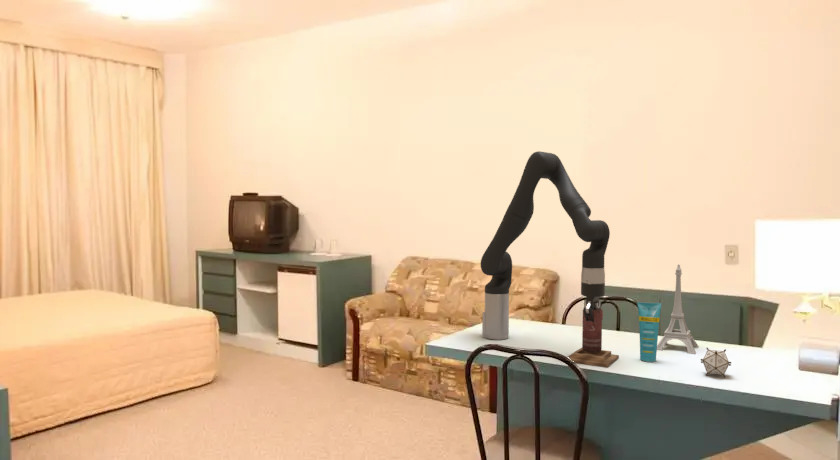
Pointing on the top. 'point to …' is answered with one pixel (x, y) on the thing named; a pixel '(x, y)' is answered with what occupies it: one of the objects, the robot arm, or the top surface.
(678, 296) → the eiffel tower
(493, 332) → the robot arm
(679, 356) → the top surface
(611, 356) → the coaster plate
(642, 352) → the tube
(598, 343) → the can
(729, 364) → the game die
